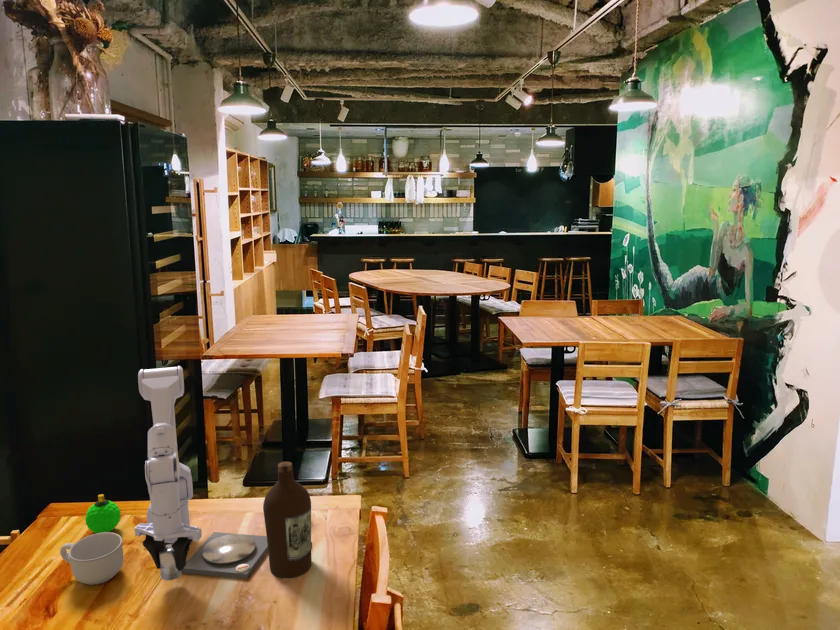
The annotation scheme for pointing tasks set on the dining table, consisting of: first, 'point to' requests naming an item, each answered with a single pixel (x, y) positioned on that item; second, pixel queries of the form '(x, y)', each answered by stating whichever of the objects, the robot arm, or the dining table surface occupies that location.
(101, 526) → the ornament
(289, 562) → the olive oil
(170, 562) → the cylinder
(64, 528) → the dining table surface
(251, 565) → the scale base
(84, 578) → the teacup
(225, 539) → the scale pan
